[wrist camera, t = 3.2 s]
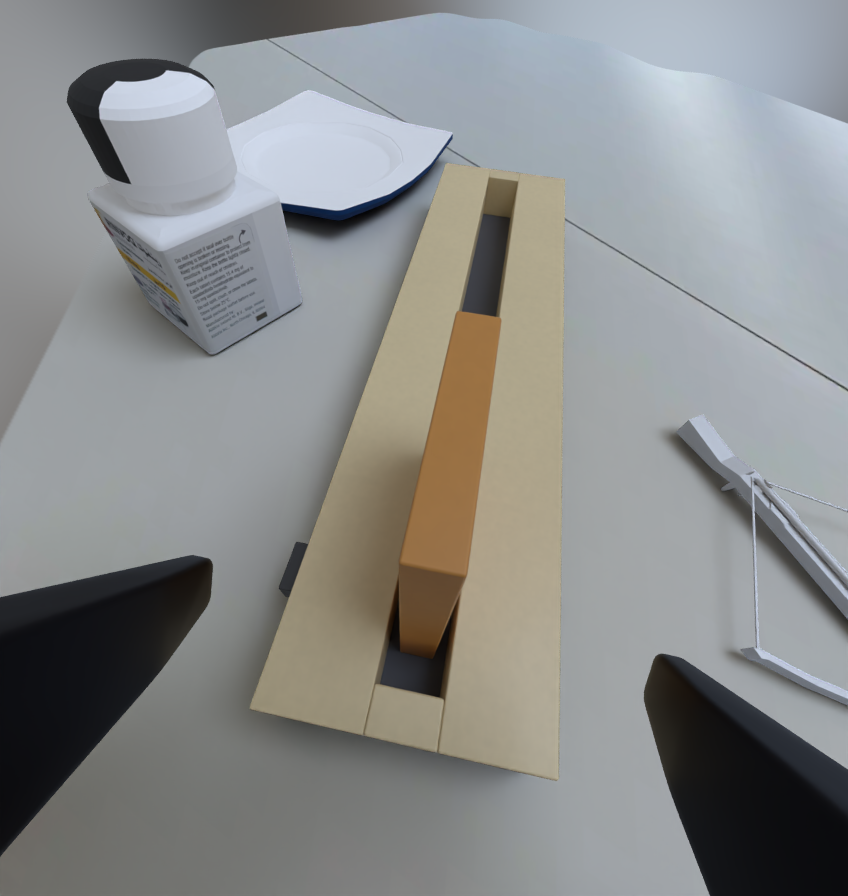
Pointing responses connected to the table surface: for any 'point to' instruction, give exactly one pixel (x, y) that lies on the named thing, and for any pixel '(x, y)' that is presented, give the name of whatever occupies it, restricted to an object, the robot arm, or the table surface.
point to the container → (184, 201)
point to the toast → (447, 486)
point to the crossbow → (786, 526)
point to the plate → (333, 155)
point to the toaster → (497, 513)
